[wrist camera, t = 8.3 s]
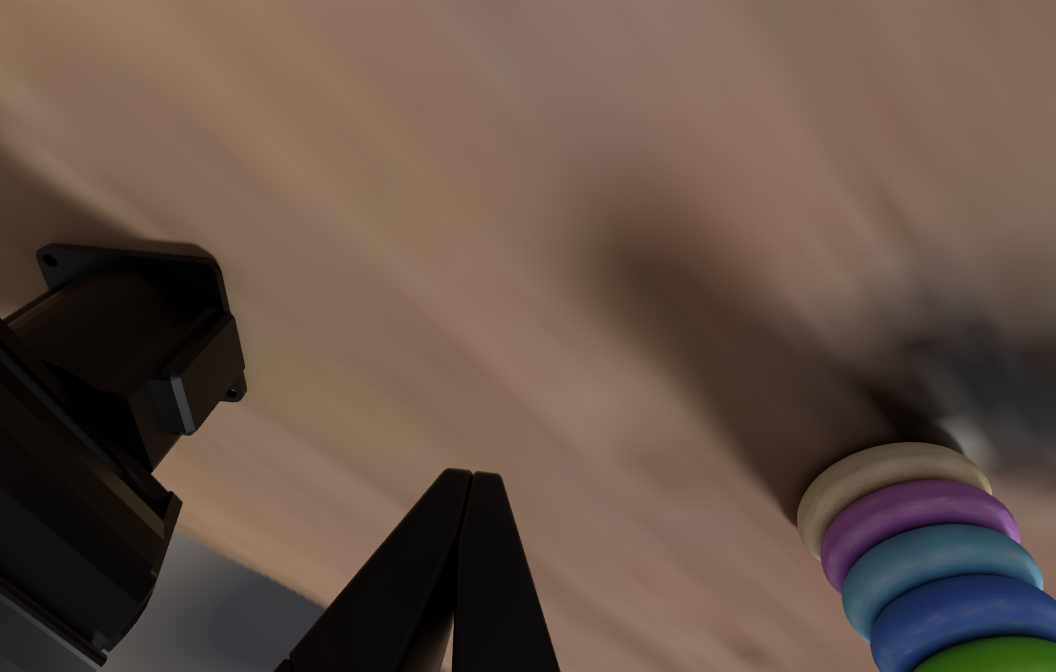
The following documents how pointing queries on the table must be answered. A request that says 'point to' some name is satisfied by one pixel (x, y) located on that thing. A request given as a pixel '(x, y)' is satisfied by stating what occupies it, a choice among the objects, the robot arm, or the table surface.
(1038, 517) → the table surface
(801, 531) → the stacking toy
